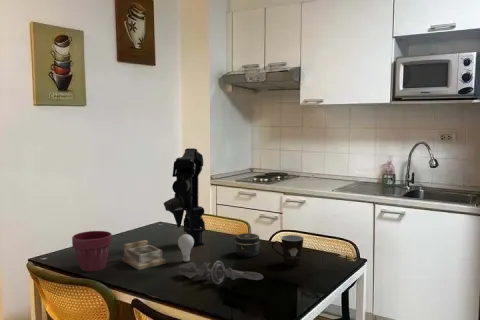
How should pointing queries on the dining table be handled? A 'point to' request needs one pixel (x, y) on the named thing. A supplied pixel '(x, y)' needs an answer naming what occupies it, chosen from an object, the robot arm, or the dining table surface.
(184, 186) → the robot arm
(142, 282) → the dining table surface
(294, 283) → the dining table surface
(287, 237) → the coffee mug
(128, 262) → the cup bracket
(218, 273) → the spaceship
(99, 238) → the plant pot
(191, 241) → the lightbulb
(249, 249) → the jar
